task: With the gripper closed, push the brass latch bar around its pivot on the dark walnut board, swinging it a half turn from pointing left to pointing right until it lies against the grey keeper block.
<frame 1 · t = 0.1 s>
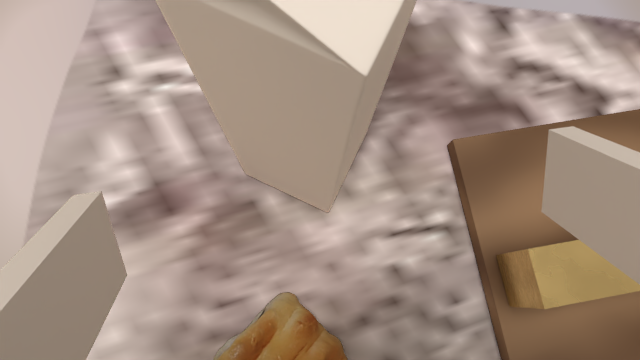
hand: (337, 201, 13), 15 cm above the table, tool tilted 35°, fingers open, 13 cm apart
latch bar: (631, 258, 25), point 3 cm above the table, hinge at 0.0°
milk: (306, 154, 30), on the table
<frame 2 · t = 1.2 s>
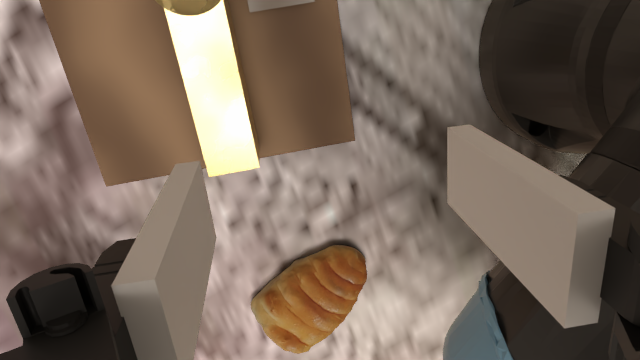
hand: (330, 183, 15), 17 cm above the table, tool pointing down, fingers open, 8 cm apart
latch bar: (210, 54, 26), point 3 cm above the table, hinge at 0.0°
pastry: (306, 286, 37), on the table
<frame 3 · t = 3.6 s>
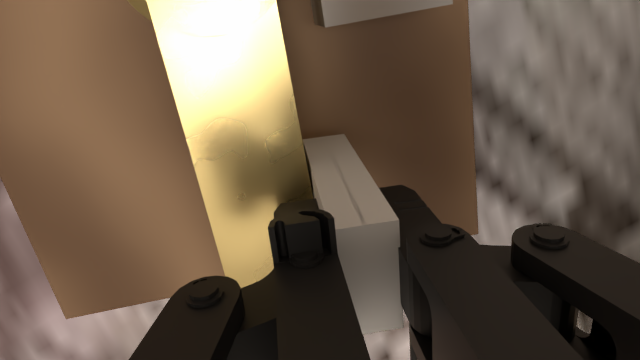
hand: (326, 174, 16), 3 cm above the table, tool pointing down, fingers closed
latch bar: (244, 107, 14), point 3 cm above the table, hinge at 0.2°, touching gripper
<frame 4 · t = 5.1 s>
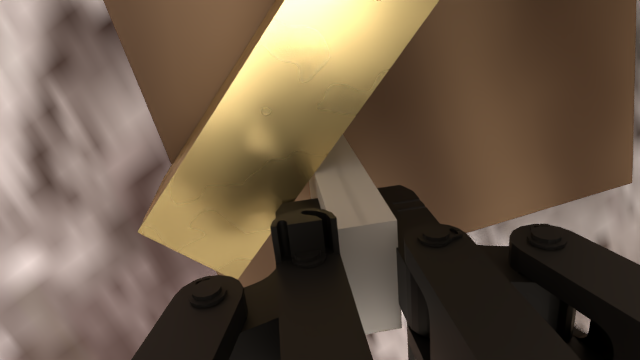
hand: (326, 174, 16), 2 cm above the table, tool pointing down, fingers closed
latch bar: (317, 43, 13), point 3 cm above the table, hinge at 49.9°, touching gripper
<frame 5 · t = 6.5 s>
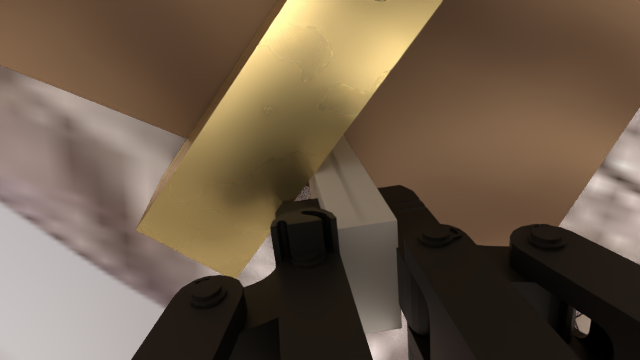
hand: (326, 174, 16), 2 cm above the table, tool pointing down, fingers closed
latch bar: (319, 44, 13), point 3 cm above the table, hinge at 100.6°, touching gripper
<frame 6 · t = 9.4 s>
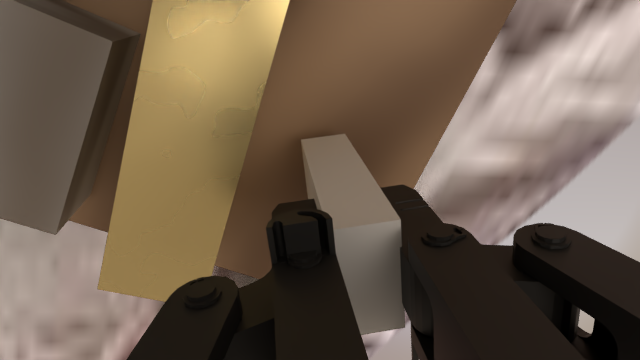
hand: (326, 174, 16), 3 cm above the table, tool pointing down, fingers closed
latch bar: (210, 71, 13), point 3 cm above the table, hinge at 173.7°
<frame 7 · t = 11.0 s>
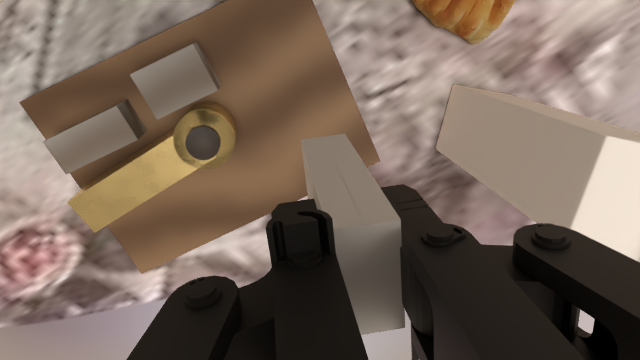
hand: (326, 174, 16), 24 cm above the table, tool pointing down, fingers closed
board: (214, 130, 38), on the table
latch bar: (159, 163, 35), point 3 cm above the table, hinge at 173.7°
milk: (472, 121, 41), on the table
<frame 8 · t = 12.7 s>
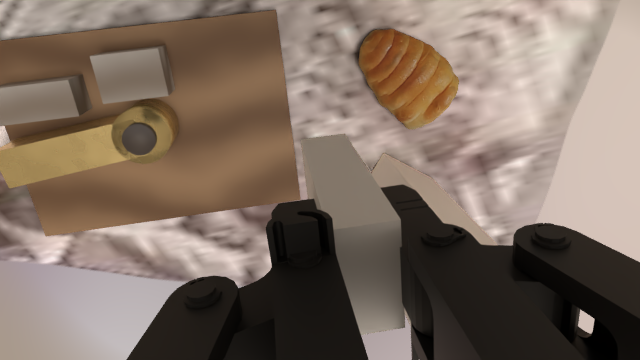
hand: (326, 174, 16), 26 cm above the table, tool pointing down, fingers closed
board: (157, 126, 40), on the table
latch bar: (94, 143, 37), point 3 cm above the table, hinge at 173.7°
milk: (391, 189, 46), on the table
pastry: (403, 78, 42), on the table
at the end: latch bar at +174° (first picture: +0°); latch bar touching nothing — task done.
